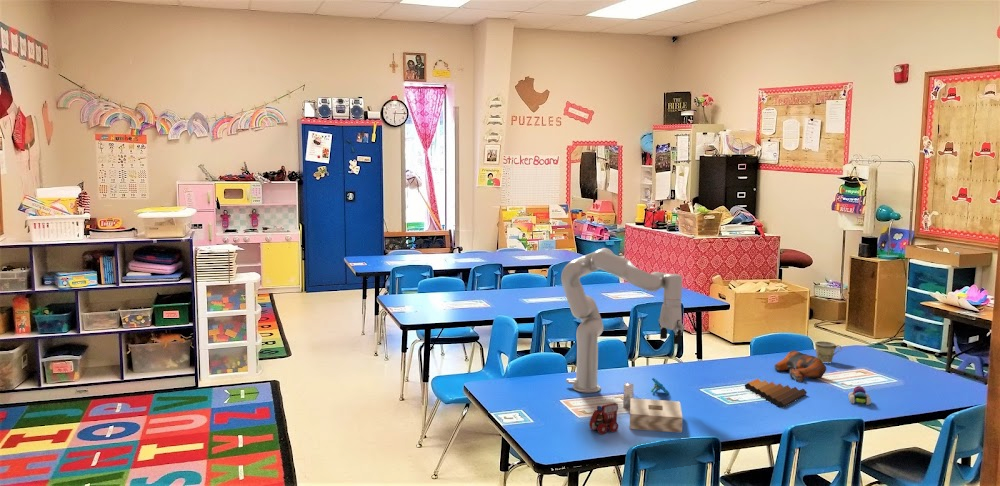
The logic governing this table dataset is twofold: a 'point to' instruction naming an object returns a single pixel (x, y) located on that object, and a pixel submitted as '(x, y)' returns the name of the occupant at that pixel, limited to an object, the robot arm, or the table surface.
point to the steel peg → (627, 395)
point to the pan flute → (775, 392)
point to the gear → (658, 387)
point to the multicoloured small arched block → (859, 396)
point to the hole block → (655, 415)
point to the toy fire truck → (604, 418)
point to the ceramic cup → (825, 350)
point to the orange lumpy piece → (801, 365)
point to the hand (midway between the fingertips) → (670, 341)
